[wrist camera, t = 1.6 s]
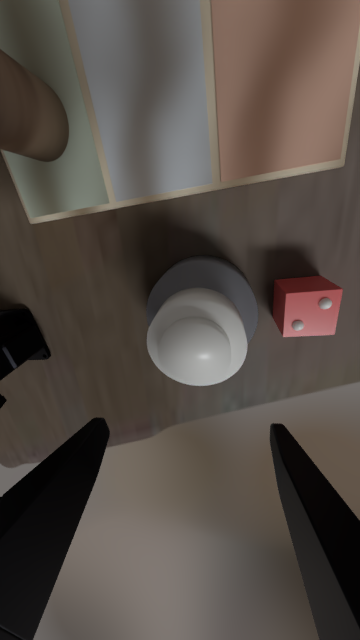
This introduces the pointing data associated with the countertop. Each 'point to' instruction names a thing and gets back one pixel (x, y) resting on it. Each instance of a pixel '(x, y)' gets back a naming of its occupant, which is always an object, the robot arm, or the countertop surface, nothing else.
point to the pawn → (30, 114)
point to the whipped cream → (197, 337)
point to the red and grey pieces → (288, 304)
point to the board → (182, 95)
